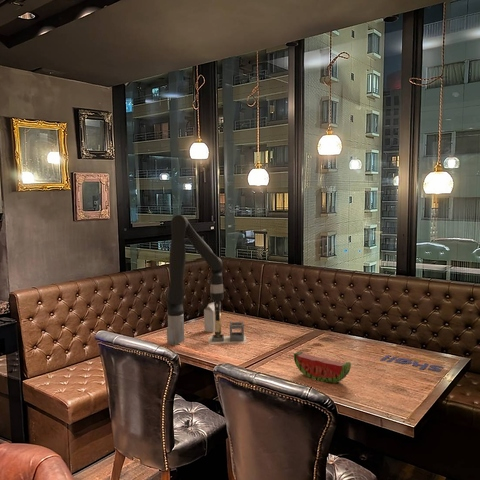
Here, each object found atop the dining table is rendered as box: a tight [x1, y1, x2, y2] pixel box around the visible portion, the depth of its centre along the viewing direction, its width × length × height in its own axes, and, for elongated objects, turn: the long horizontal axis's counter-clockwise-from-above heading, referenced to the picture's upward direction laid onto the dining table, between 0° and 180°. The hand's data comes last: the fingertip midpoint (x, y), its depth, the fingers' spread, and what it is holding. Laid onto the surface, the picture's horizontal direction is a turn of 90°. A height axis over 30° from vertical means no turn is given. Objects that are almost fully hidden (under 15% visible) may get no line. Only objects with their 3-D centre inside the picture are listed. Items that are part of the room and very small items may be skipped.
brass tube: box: [214, 312, 222, 338], centre depth 255 cm, size 4×4×16 cm
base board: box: [208, 335, 247, 345], centre depth 256 cm, size 22×14×2 cm, turn 92°
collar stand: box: [211, 321, 245, 342], centre depth 255 cm, size 18×8×9 cm, turn 91°
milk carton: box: [203, 301, 215, 334], centre depth 274 cm, size 7×7×19 cm
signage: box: [379, 354, 445, 372], centre depth 217 cm, size 28×1×10 cm
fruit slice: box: [293, 350, 352, 384], centre depth 200 cm, size 26×6×10 cm, turn 52°
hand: (217, 318), depth 255 cm, fingers open, 8 cm apart
